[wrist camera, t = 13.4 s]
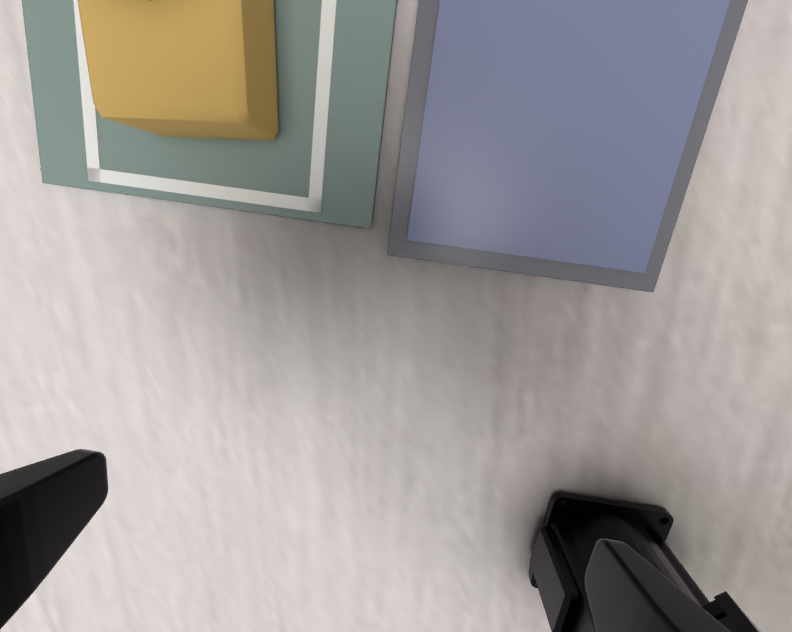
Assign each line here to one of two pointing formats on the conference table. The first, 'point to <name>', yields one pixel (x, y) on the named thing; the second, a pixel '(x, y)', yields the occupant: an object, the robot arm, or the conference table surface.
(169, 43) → the rubber stamp
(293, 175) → the marking board
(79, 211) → the conference table surface
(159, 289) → the conference table surface
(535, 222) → the ink pad
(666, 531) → the robot arm
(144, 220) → the conference table surface
